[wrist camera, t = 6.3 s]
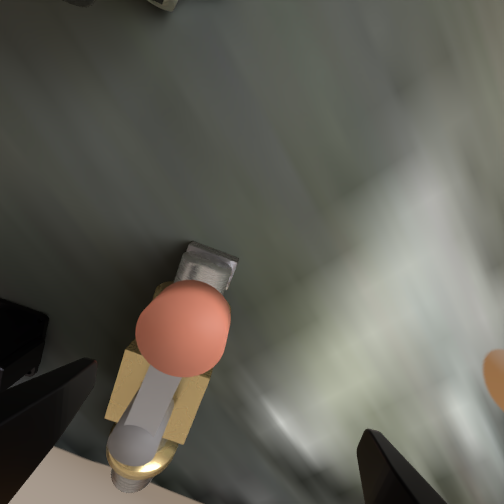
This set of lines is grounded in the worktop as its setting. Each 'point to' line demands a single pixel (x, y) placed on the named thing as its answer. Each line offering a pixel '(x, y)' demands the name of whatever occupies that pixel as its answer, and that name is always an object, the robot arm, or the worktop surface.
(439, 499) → the robot arm
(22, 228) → the worktop surface
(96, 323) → the worktop surface
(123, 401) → the valve body
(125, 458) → the lever
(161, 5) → the ball valve
